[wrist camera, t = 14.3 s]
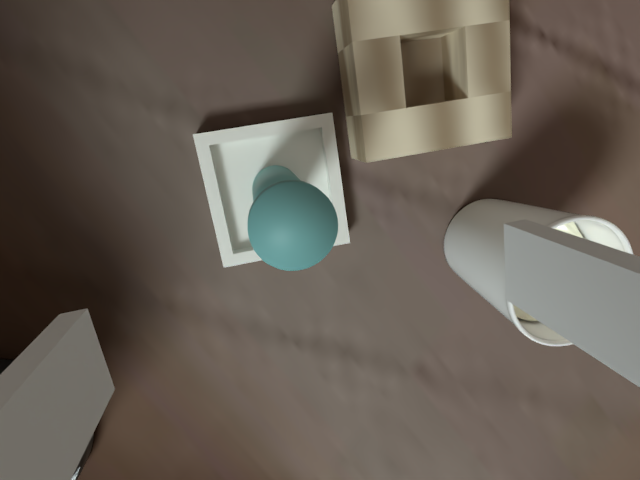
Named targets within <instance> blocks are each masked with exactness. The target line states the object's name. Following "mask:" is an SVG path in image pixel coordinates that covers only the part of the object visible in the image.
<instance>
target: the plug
mask: <svg viewBox="0 0 640 480" xmlns="http://www.w3.org/2000/svg"><path fill="white" fill-rule="evenodd" d="M252 194H253V203H252V205H251V208H250V211H249V214H248V236H249V240H250V243H251V245H252V247H253V249H254V251H255V252H256V254H257V255H258V256H259V257H260V258H261V259H262V260H263V261H264V262H266V263H267V264H269V265H271V266H273V267H275V268H278V269H282V270H288V271H296V270H302V269H306V268H309V267H311V266H313V265H315V264H317V263H318V262H320V261H321V260H322V259H323V258H324V257H325V256H326V255H327V254H328V253H329V252H330V250H331V249H332V247H333V245H334V243H335V240H336V237H337V233H338V218H337V214H336V211H335V208H334V206H333V204H332V202H331V201H330V200H329V198H328V197H327V196H326V195H325V194H324V193H323V192H322V191H320V190H319V189H318V188H317V187H315V186H313V185H312V184H309V183H307V182H304V181H301V180H300V179H299V178H298V177H297V176H296V175H295V174H294V173H293V172H292V171H291V170H289V169H288V168H286V167H283V166H279V165H273V166H268V167H266V168H264V169H262V170H261V171H260V172H259V173H258V174H257V175H256V177H255V179H254V181H253V185H252Z"/></svg>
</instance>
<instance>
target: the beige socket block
mask: <svg viewBox="0 0 640 480" xmlns="http://www.w3.org/2000/svg"><path fill="white" fill-rule="evenodd" d="M332 13H333V21H334V28H335V36H336V44H337V52H338V60H339V68H340V76H341V83H342V91H343V99H344V107H345V115H346V123H347V131H348V138H349V146H350V154H351V158H353V159H356V160H360V161H363V162H366V163H367V162H373V161H379V160H385V159H391V158H396V157H402V156H408V155H414V154H419V153H425V152H431V151H437V150H442V149H448V148H454V147H460V146H465V145H471V144H477V143H483V142H488V141H494V140H500V139H506V138H511V137H512V125H511V68H510V11H509V0H336V1H335V2H334V3H333V5H332Z"/></svg>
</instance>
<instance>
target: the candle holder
mask: <svg viewBox="0 0 640 480" xmlns="http://www.w3.org/2000/svg"><path fill="white" fill-rule="evenodd" d="M524 219H526V220H529V221H532V222H535V223H538V224H541V225H544V226H547V227H550V228H553V229H556V230H559V231H563V232H566V233H569V234H572V235H575V236H578V237H581V238H584V239H587V240H590V241H593V242H596V243H599V244H602V245H605V246H608V247H611V248H614V249H618V250H621V251H624V252H627V253H630V254H633V251H632V248H631V245H630V243H629V241H628V239H627V237H626V236H625V234H624V233H623V232H622V231H621V230H620V229H619V228H618V227H617V226H616V225H614V224H613V223H611V222H610V221H608V220H605V219H603V218H600V217H596V216H590V215H579V214H574V213H569V212H564V211H559V210H553V209H548V208H543V207H538V206H532V205H527V204H522V203H517V202H511V201H506V200H500V199H482V200H478V201H475V202H472V203H470V204H468V205H467V206H465V207H464V208H463V209H461V210H460V211H459V212H458V213H457V214H456V215H455V216H454V218H453V219H452V221H451V222H450V224H449V226H448V228H447V231H446V234H445V238H444V253H445V257H446V260H447V262H448V264H449V266H450V267H451V269H452V270H453V271H454V272H455V273H456V274H457V275H458V276H459V277H460V278H461V279H462V280H463V281H465V282H466V283H467V284H468V285H469V286H470V287H471V288H473V289H474V290H475V291H476V292H477V293H478V294H479V295H481V296H482V297H483V298H484V299H485V300H486V301H488V302H489V303H490V304H491V305H492V306H493V307H494V308H496V309H497V310H498V311H499V312H500V313H501V314H502V315H504V316H505V317H506V318H507V319H508V320H509V321H511V322H512V323H513V324H514V325H515V326H516V327H517V328H518V329H519V330H520V331H521V332H522V333H523V334H524V335H525V336H526V337H528V338H529V339H531V340H533V341H535V342H537V343H540V344H543V345H548V346H566V345H571V344H573V343H571V342H570V341H568V340H567V339H565V338H564V337H562V336H561V335H559V334H558V333H556V332H555V331H553V330H552V329H550V328H548V327H547V326H545V325H544V324H542V323H541V322H539V321H538V320H536V319H535V318H533V317H532V316H530V315H529V314H527V313H526V312H524V311H523V310H521V309H520V308H518V307H516V306H515V305H513V304H512V303H510V302H509V301H507V300H506V290H505V251H504V223H509V222H514V221H519V220H524Z"/></svg>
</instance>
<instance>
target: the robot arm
mask: <svg viewBox="0 0 640 480" xmlns="http://www.w3.org/2000/svg"><path fill="white" fill-rule="evenodd" d="M504 251H505V290H506V300H507V301H509V302H510V303H512V304H513V305H515V306H516V307H518V308H520V309H521V310H523V311H524V312H526V313H527V314H529V315H530V316H532V317H533V318H535V319H536V320H538V321H539V322H541V323H542V324H544V325H545V326H547V327H548V328H550V329H552V330H553V331H555V332H556V333H558V334H559V335H561V336H562V337H564V338H565V339H567V340H568V341H570V342H571V343H573V344H574V345H576V346H577V347H579V348H580V349H582V350H584V351H585V352H587V353H588V354H590V355H591V356H593V357H594V358H596V359H597V360H599V361H600V362H602V363H603V364H605V365H606V366H608V367H609V368H611V369H612V370H614V371H616V372H617V373H619V374H620V375H622V376H623V377H625V378H626V379H628V380H629V381H631V382H632V383H634V384H635V385H637V386H638V387H640V257H639V256H636V255H633V254H630V253H627V252H624V251H621V250H618V249H614V248H611V247H608V246H605V245H602V244H599V243H596V242H593V241H590V240H587V239H584V238H581V237H578V236H575V235H572V234H569V233H566V232H563V231H559V230H556V229H553V228H550V227H547V226H544V225H541V224H538V223H535V222H532V221H529V220H526V219H524V220H519V221H514V222H509V223H504ZM114 390H115V388H114V385H113V382H112V379H111V376H110V373H109V370H108V367H107V364H106V361H105V358H104V355H103V353H102V350H101V347H100V344H99V341H98V338H97V335H96V332H95V329H94V326H93V323H92V320H91V317H90V314H89V312H88V309H82V310H77V311H72V312H67V313H62V314H59V315H58V316H57V317H56V318H55V319H54V320H53V321H52V322H51V323H50V324H49V325H48V326H47V327H46V328H45V329H44V330H43V331H42V332H41V333H40V334H39V335H38V337H37V338H36V339H35V340H34V341H33V342H32V343H31V344H30V345H29V346H28V347H27V348H26V349H25V350H24V351H23V352H22V353H21V354H20V355H19V356H18V357H17V358H16V359H15V360H5V359H0V480H77V479H78V477H79V475H80V473H81V471H82V469H83V467H84V465H85V463H86V461H87V459H88V457H89V455H90V452H91V449H92V445H93V438H94V431H95V429H96V427H97V425H98V423H99V421H100V419H101V417H102V415H103V413H104V411H105V408H106V406H107V404H108V402H109V400H110V398H111V396H112V394H113V392H114Z"/></svg>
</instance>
